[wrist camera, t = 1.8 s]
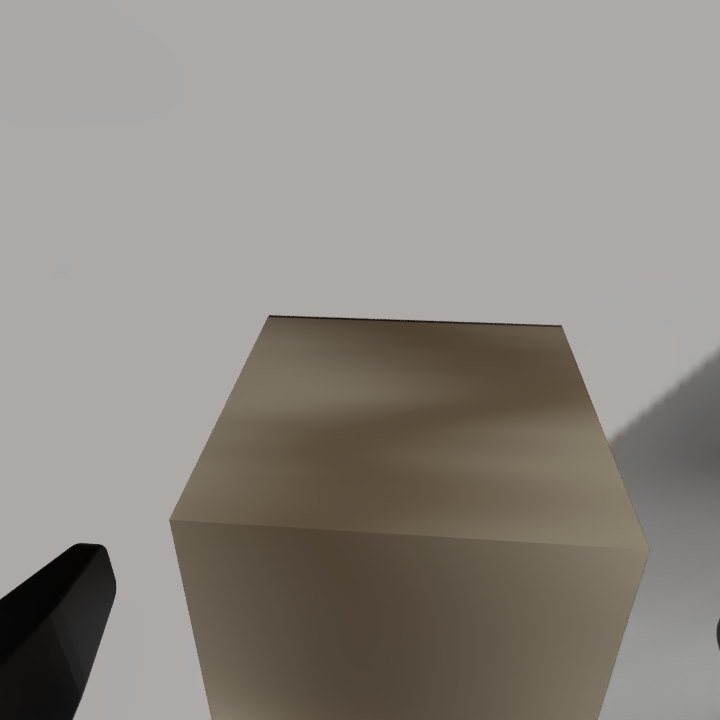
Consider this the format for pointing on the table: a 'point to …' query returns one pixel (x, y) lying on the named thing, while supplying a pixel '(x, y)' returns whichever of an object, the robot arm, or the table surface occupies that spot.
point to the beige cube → (407, 528)
